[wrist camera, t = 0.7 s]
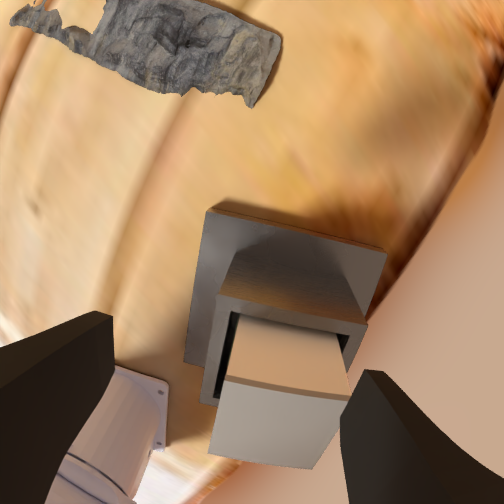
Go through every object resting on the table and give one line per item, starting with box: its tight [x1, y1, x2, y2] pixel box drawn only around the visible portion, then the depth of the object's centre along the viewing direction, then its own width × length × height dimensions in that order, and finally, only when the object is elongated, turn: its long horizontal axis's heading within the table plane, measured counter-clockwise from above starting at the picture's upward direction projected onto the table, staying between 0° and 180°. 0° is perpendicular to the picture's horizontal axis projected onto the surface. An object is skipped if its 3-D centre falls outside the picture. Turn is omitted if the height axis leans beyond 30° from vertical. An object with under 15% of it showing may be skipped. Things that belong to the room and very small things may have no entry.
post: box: [208, 313, 352, 469], centre depth 14 cm, size 4×4×8 cm
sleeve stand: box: [184, 208, 388, 407], centre depth 16 cm, size 10×10×6 cm
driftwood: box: [9, 0, 281, 109], centre depth 14 cm, size 21×7×2 cm, turn 55°
